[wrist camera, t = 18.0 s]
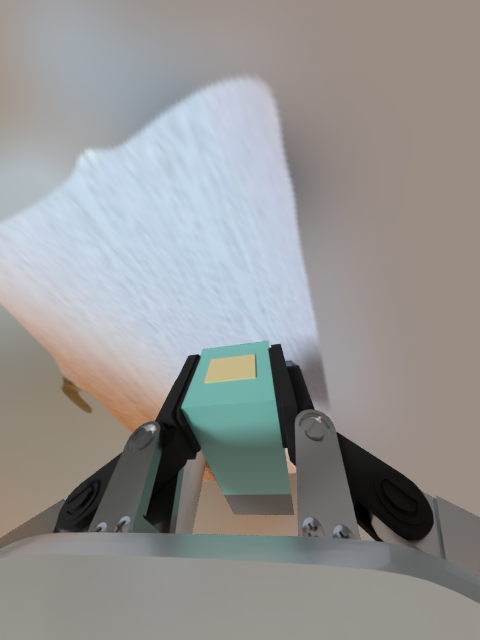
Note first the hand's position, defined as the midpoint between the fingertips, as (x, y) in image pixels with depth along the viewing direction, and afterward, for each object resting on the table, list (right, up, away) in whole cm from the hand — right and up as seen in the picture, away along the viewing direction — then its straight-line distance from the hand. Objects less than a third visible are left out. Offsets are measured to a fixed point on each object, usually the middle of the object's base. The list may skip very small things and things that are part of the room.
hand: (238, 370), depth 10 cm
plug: (+1, -3, +2) cm, 4 cm away
